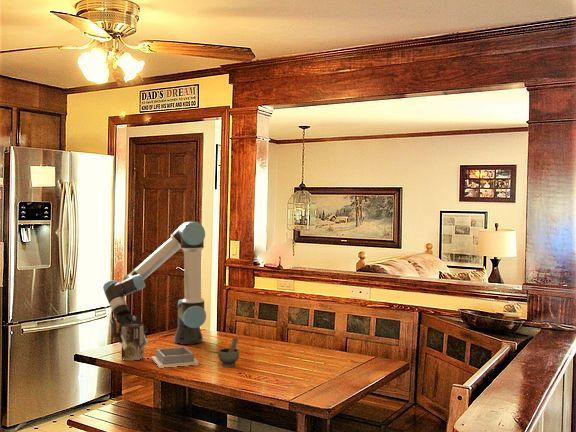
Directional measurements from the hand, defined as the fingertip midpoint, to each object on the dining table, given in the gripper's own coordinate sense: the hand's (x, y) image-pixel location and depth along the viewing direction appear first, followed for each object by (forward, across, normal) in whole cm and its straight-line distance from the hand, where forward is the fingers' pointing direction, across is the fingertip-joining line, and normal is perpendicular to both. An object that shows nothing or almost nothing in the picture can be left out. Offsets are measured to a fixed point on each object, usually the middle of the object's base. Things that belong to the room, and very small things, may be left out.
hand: (136, 346), depth 284 cm
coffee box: (+3, 0, -7) cm, 7 cm away
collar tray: (+15, -12, +6) cm, 20 cm away
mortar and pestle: (+30, -28, +20) cm, 46 cm away
